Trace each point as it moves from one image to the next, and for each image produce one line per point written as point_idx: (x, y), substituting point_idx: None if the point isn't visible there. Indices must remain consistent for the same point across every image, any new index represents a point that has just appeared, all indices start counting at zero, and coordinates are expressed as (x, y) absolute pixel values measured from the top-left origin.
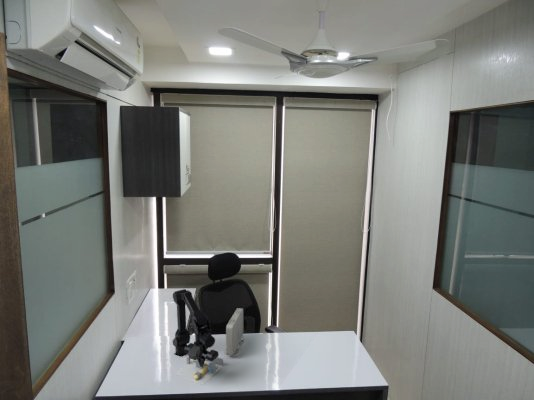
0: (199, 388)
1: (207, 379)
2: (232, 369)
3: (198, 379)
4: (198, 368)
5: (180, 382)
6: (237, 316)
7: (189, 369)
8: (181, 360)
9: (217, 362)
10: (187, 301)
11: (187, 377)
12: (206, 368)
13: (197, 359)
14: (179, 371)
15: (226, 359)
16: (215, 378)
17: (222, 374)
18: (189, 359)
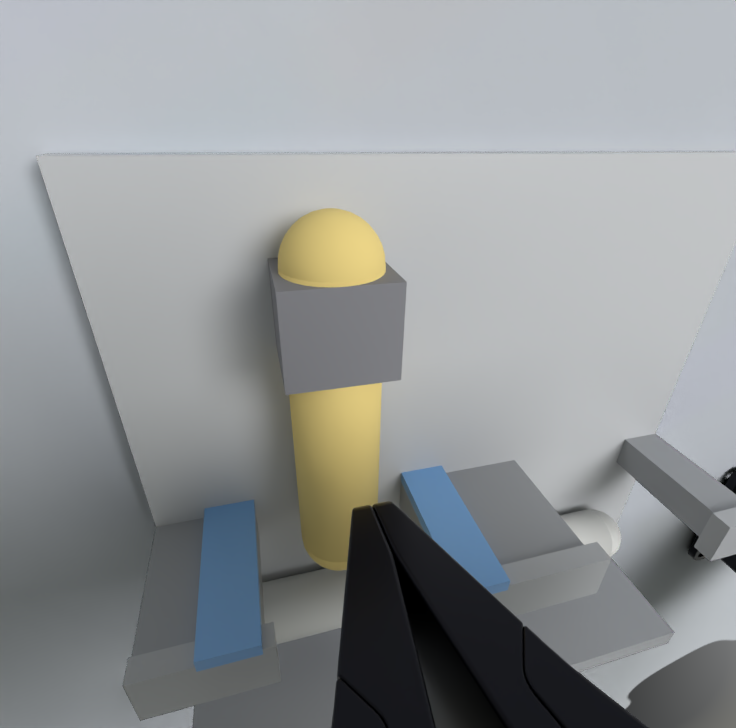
0: (17, 14)
1: (115, 360)
2: (29, 694)
3: (276, 259)
4: (465, 459)
5: (578, 7)
6: None
7: (576, 375)
8: (725, 438)
9: (283, 666)
10: None
11: (516, 198)
12: (313, 527)
13: (594, 697)
14: (704, 258)
15: None
16: (47, 464)
17: (46, 577)
18: (675, 499)
